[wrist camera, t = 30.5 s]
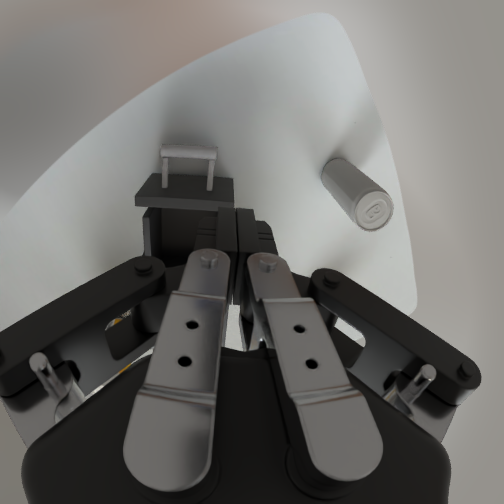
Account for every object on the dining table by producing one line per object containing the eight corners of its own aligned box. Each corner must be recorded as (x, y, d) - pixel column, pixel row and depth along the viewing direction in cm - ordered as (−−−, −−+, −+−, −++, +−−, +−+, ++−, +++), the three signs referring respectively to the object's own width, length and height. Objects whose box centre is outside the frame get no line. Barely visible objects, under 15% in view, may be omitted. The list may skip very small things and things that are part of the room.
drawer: (152, 135, 32) (133, 149, 26) (237, 140, 33) (239, 155, 27) (154, 255, 41) (142, 289, 35) (224, 260, 43) (224, 296, 36)
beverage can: (358, 176, 38) (401, 214, 28) (332, 197, 39) (366, 241, 29) (340, 150, 36) (382, 180, 26) (313, 172, 37) (344, 210, 27)
